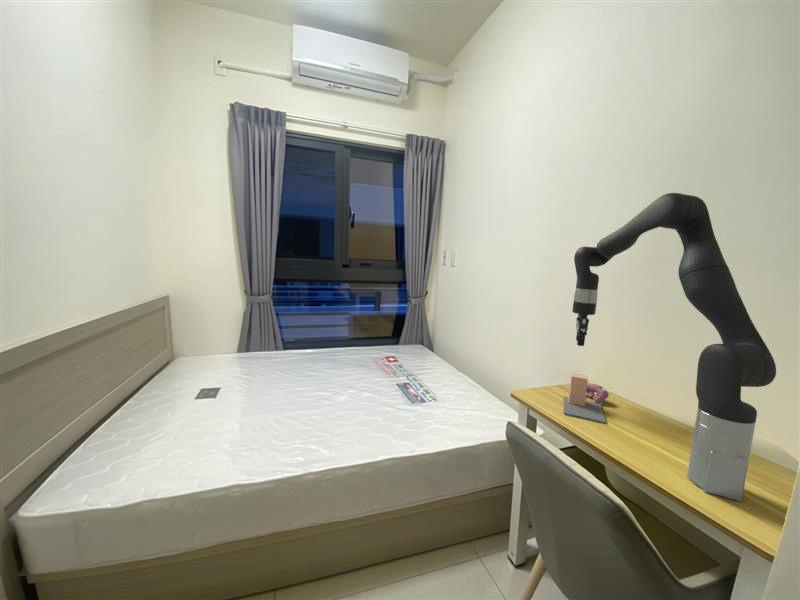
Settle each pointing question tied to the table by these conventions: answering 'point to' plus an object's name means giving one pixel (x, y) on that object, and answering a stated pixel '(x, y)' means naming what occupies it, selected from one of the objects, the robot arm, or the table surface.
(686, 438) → the table surface
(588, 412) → the charcoal mat
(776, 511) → the table surface
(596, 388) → the video game controller
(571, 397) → the peach block
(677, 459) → the table surface
